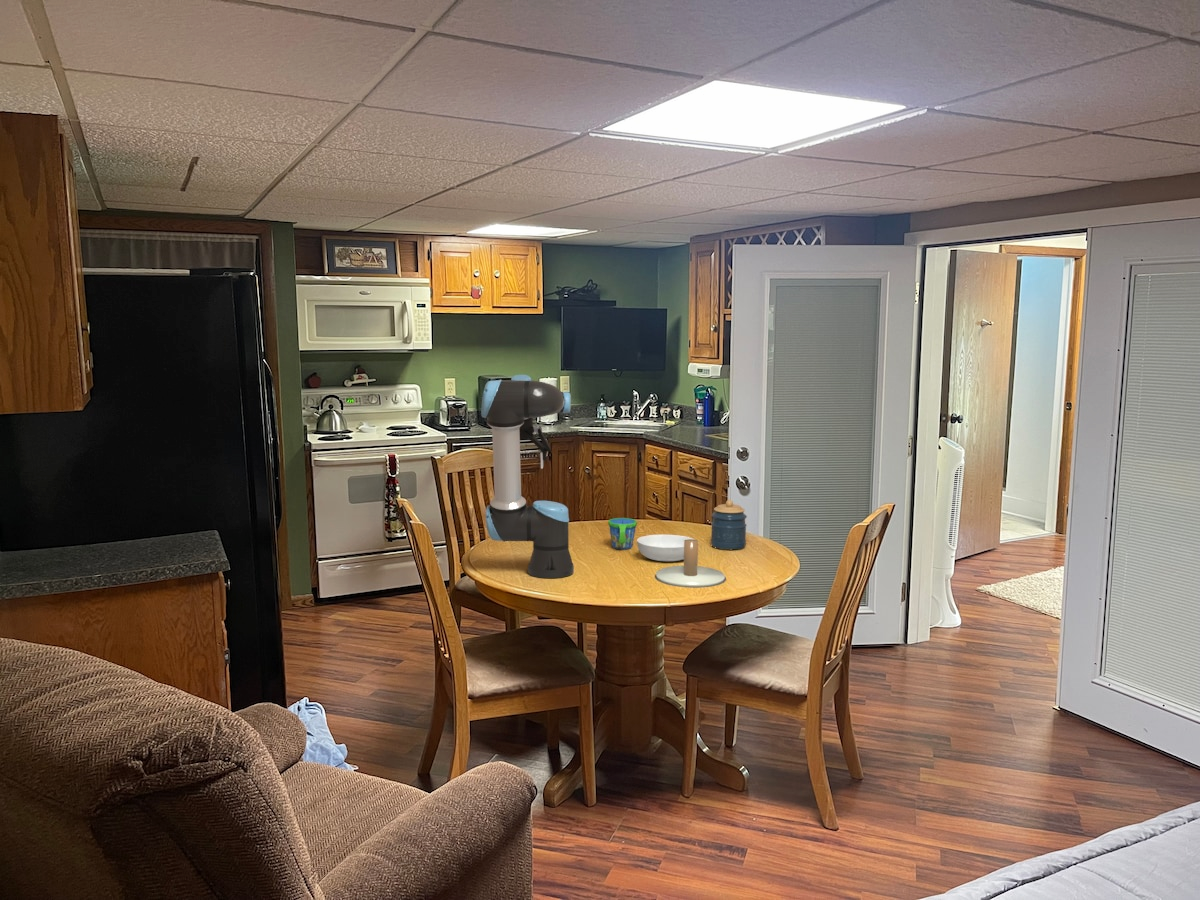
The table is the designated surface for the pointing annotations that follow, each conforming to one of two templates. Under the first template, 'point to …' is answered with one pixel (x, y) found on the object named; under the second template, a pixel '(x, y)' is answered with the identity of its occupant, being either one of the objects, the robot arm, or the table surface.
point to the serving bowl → (662, 547)
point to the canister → (728, 526)
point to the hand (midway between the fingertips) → (524, 466)
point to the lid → (690, 570)
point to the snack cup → (622, 532)
